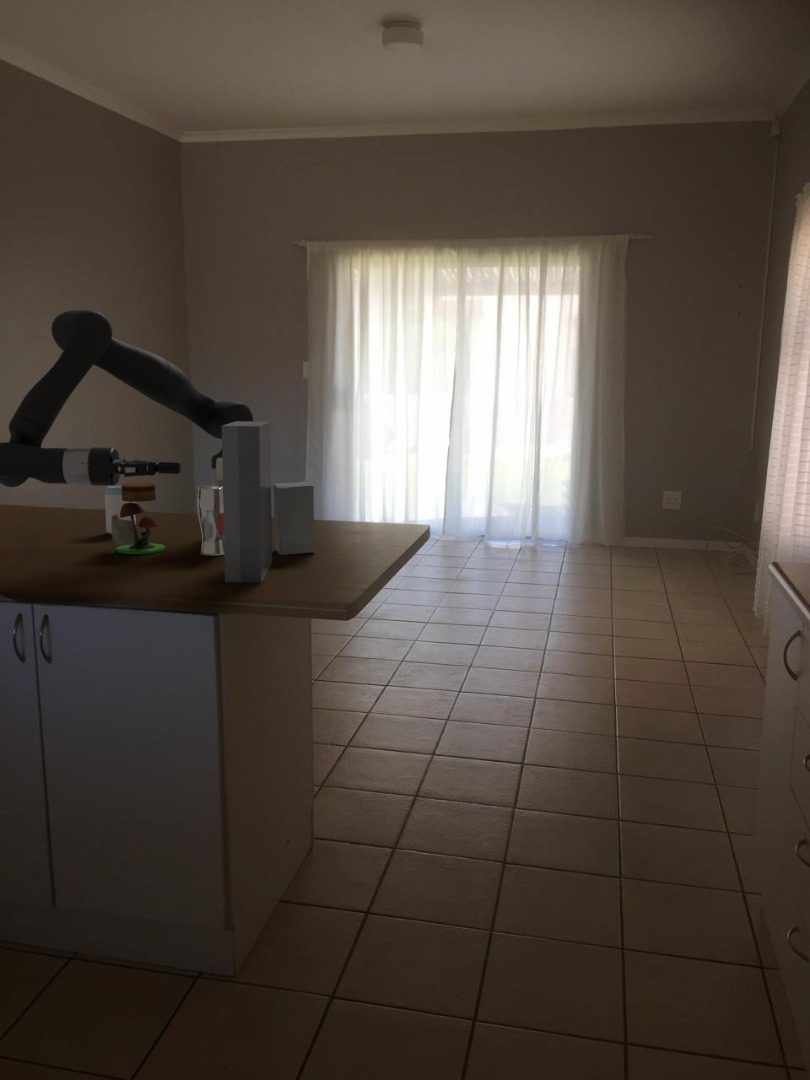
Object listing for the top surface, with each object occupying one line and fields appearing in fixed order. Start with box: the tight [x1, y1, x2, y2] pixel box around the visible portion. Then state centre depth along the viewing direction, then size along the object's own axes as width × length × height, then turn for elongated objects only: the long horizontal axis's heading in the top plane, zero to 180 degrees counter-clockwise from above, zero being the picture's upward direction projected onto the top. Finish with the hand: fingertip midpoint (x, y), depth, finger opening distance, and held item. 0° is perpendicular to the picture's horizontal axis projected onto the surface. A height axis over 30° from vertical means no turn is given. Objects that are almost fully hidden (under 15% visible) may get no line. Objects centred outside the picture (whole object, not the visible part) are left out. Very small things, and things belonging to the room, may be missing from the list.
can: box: [104, 484, 137, 536], centre depth 221 cm, size 7×7×12 cm
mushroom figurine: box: [111, 482, 166, 555], centre depth 200 cm, size 12×13×15 cm
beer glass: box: [196, 484, 224, 557], centre depth 198 cm, size 7×7×15 cm
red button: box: [217, 513, 224, 535], centre depth 178 cm, size 5×4×4 cm
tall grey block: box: [221, 421, 273, 584], centre depth 177 cm, size 7×18×30 cm, turn 2°
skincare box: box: [273, 481, 316, 556], centre depth 200 cm, size 8×7×16 cm
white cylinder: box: [216, 458, 223, 480], centre depth 176 cm, size 5×4×4 cm
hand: (180, 467), depth 176 cm, fingers closed
